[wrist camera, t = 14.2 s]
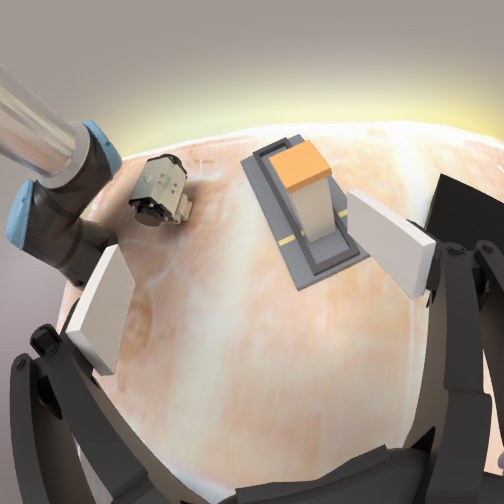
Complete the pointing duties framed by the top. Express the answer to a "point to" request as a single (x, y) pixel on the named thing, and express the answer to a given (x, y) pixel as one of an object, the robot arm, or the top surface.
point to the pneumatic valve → (161, 192)
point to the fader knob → (307, 188)
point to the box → (465, 216)
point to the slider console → (288, 228)
